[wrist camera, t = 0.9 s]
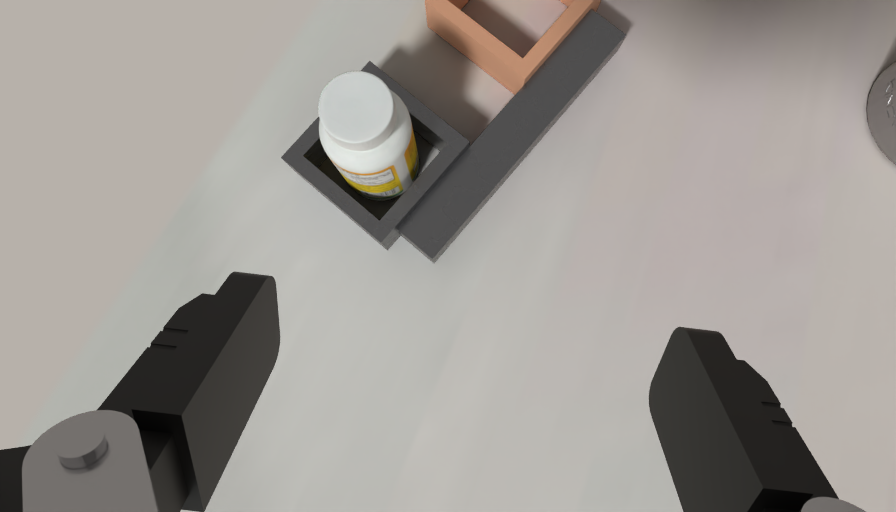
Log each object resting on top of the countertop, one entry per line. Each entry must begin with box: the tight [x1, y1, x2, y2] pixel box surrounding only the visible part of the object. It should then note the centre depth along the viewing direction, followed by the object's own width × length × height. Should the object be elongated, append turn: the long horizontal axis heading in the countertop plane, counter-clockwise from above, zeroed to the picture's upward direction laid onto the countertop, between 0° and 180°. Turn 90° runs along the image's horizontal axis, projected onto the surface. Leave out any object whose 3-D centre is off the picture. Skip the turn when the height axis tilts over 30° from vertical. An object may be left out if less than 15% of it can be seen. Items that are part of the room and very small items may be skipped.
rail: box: [281, 9, 626, 263], centre depth 36 cm, size 21×12×3 cm, turn 140°
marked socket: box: [425, 0, 601, 95], centre depth 37 cm, size 9×9×3 cm
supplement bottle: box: [318, 71, 419, 200], centre depth 33 cm, size 5×5×10 cm
